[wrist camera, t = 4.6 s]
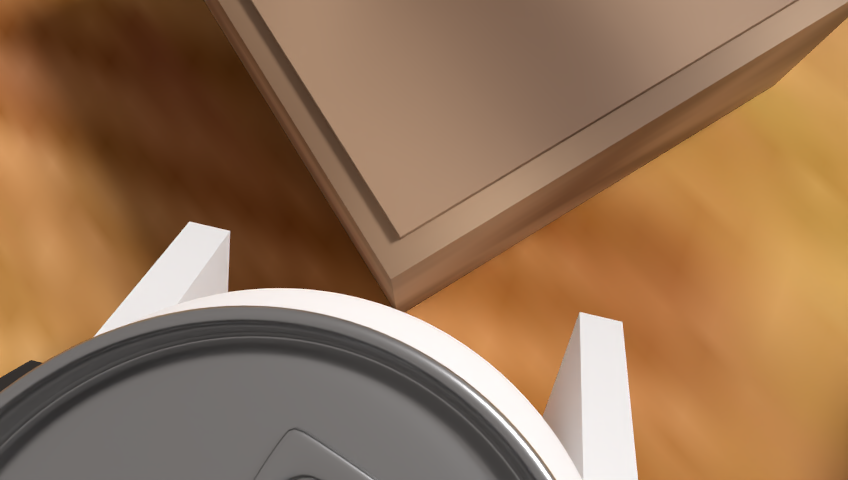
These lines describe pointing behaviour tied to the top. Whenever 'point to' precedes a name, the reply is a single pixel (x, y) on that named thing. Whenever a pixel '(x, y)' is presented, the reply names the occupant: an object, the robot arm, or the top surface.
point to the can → (274, 400)
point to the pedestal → (498, 106)
